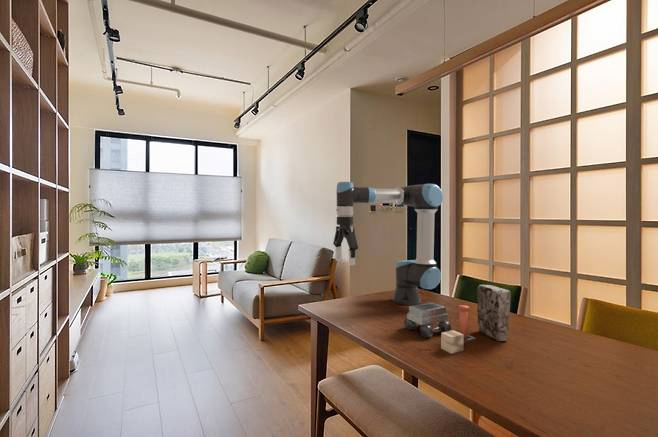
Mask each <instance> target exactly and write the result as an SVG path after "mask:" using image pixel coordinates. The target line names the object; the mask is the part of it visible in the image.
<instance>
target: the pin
mask: <svg viewBox="0 0 658 437" xmlns="http://www.w3.org/2000/svg"><path fill="white" fill-rule="evenodd" d="M457 308H458V310H459V312H458V313H459V319H458V320H459V323H458V325H459V327H458V332H459V333H461V334H464V339H468V335H469V332H468V331H469V310H470V306H469V305H464V304H459V305H458V307H457Z"/></svg>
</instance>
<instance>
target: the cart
mask: <svg viewBox="0 0 658 437" xmlns="http://www.w3.org/2000/svg"><path fill="white" fill-rule="evenodd" d="M446 310H447V308H446V306H443V305H441V304H437V303H436V302H435V303H434V302H428V303H422V304H421V303H419V304H416V305H408V312H407V313H406V317H405V318H404V320H403V325H404V327H405V329H406V330H408V331H411V330H415V329H416V328H417V324H418V325H420V328H419V331H420V332H419V333H420V335H421V336H422V338H425V339H427V338H430V337H433V335H434V331H438V330H439V332H440V333H442V332H447V331H451V330H452V325H451V323H450V321H449V320H448V314H447V312H446ZM434 323H438V324H437V327H434V328H433V324H434Z"/></svg>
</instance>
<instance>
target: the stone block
mask: <svg viewBox="0 0 658 437" xmlns="http://www.w3.org/2000/svg"><path fill="white" fill-rule="evenodd" d="M476 294H477V295H476V300H477V306H476V307H477V308H476V310H477V326H478V332H480V333H482V334H484V335H485V336H487V337H490V338H491V339H493V340H495V341H497V342H507V341H508V338H509V327H510V315H511V314H510V311H511V299H512V298H511V297H512V296H511V295H512V294H511V291H510V290H508V289H505V288H503V287H502V288H501V287H498V286H496V285H492V284H491V285H490V284H479V285H478V286H477V290H476Z"/></svg>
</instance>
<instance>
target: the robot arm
mask: <svg viewBox="0 0 658 437" xmlns="http://www.w3.org/2000/svg"><path fill="white" fill-rule="evenodd" d="M335 193H336V215H337V216H336V225H337V226H335V235H334V238H333V245H334V247H335V262H341V261H342V246H343V245H342V243H343V241H344V239H346V243H347V246H348V248H349V249H348V265H349V266H355V265H356V250H358V249H359V245H358V241H357V236H356V231H355V227H351V226H353V225H354V204H395V205H397V206H408V207H414V211H415V212H416V213H417V214H416V216H417V219H416V258H415V259H409V260H407V259H406V260H398V261H396V264H395V290H394V292H393V296H392V302H394V303H395V304H398V305H406V306H414V305H420V304H421V296H420V293H419V289H418V287H419V288H421V289H424V290H432V289H435V288H437V286H438V285H439V284H440V282H441V279H442V273H441V270H440V269H439V268H438V267H437V262H436V260H435V259H434V258H435V257H434V255H435V254H434V250H435V248H434V247H435V214H436V212H437V211H438V210H439V206H441V204H442V203H443V200H444V195H443V191H442V189H441V188H440V186H438V185H437V184H435V183H421V184H413V185H408V186H401V187H400V186H398V187H395V188H374V187H370V186H354V182H352V181H339V182H337V183H336V191H335Z"/></svg>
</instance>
